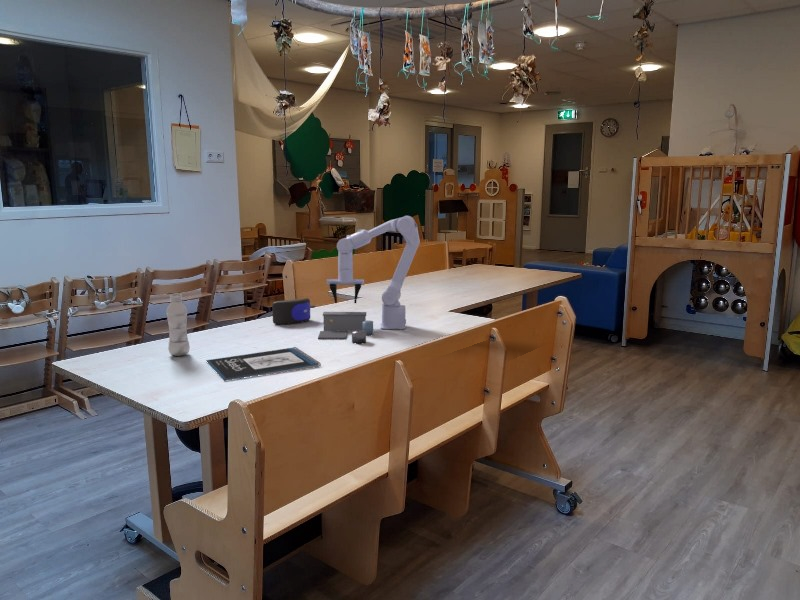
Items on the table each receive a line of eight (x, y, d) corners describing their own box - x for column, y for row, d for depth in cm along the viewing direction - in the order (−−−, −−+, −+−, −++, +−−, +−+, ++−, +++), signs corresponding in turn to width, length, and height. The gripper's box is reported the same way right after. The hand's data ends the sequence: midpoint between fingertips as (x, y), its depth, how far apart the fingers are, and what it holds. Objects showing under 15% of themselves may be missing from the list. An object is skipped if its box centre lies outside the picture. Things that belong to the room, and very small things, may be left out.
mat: (346, 332, 230) (346, 331, 230) (345, 339, 220) (345, 337, 220) (320, 332, 230) (320, 330, 229) (317, 339, 220) (317, 337, 220)
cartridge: (373, 333, 229) (373, 320, 228) (373, 336, 225) (373, 322, 225) (362, 333, 229) (362, 320, 228) (362, 335, 225) (362, 322, 224)
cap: (366, 340, 219) (366, 329, 218) (365, 344, 214) (365, 333, 213) (352, 340, 219) (352, 329, 218) (351, 344, 214) (351, 333, 213)
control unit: (366, 328, 237) (366, 311, 236) (366, 331, 232) (366, 314, 231) (323, 328, 237) (323, 311, 235) (322, 331, 232) (322, 314, 230)
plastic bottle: (178, 359, 193) (174, 297, 189) (164, 355, 197) (160, 295, 193) (194, 354, 198) (191, 294, 195) (180, 351, 202) (177, 292, 198)
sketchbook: (206, 364, 191) (205, 357, 190) (296, 351, 206) (296, 345, 205) (224, 383, 172) (224, 376, 172) (321, 368, 187) (321, 361, 187)
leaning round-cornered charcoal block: (276, 326, 238) (275, 303, 237) (272, 324, 242) (271, 301, 240) (314, 321, 247) (313, 299, 245) (309, 319, 251) (308, 297, 249)
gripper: (364, 267, 242) (364, 300, 244) (327, 267, 241) (328, 300, 244) (363, 270, 235) (363, 304, 237) (326, 269, 234) (326, 304, 237)
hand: (345, 302), depth 240 cm, fingers open, 7 cm apart
